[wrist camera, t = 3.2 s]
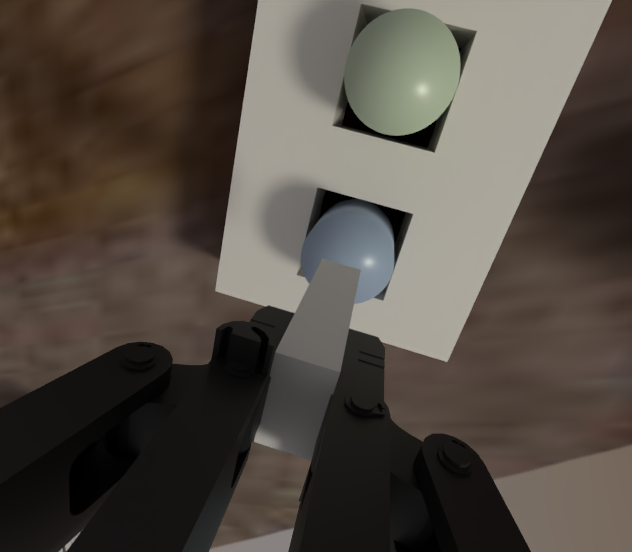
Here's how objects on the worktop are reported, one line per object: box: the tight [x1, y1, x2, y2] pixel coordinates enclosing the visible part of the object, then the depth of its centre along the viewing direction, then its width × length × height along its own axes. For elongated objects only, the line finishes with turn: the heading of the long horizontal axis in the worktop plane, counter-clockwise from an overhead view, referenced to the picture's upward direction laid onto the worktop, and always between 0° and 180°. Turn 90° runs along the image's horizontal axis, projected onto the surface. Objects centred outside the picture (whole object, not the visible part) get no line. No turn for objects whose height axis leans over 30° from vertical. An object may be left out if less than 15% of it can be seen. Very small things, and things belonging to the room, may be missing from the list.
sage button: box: [344, 8, 461, 136], centre depth 17 cm, size 4×4×4 cm
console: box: [215, 0, 612, 362], centre depth 19 cm, size 26×14×4 cm, turn 167°
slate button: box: [301, 199, 394, 304], centre depth 20 cm, size 4×4×4 cm
